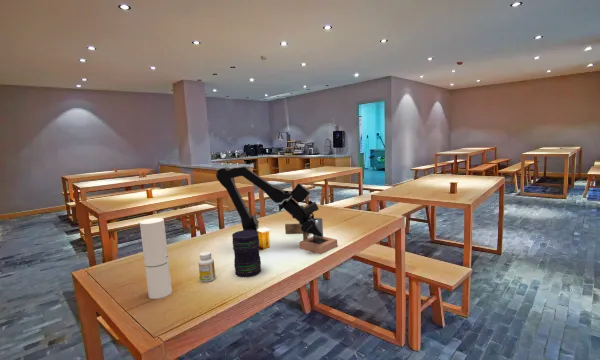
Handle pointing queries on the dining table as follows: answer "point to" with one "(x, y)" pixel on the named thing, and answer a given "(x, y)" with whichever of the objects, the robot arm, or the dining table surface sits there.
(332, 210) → the dining table surface
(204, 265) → the supplement bottle
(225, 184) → the robot arm
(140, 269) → the dining table surface
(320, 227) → the steel axle
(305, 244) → the sleeve block
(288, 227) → the v block
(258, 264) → the storage jar
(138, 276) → the dining table surface
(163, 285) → the cylindrical container
